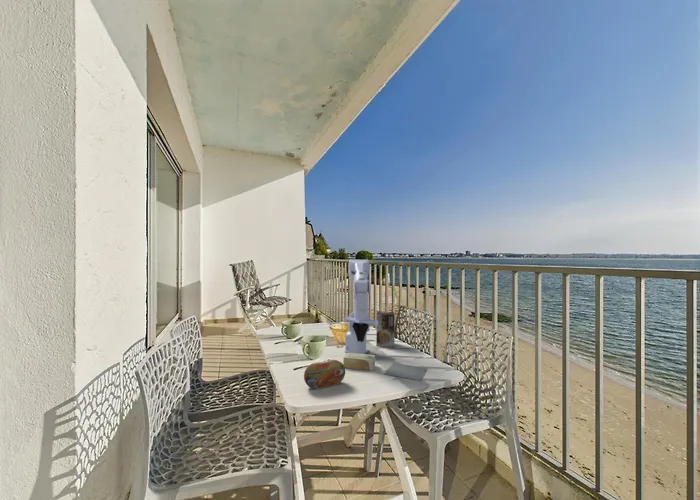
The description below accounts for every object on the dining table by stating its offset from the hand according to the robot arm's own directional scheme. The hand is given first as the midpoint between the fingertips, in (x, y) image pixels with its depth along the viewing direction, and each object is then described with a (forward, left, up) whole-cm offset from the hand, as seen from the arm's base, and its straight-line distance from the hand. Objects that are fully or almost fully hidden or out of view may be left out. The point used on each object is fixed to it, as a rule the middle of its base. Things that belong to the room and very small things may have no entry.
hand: (360, 341), depth 133 cm
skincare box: (+7, -2, -7) cm, 10 cm away
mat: (+20, 0, -9) cm, 22 cm away
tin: (-3, -25, -10) cm, 27 cm away
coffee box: (+2, +30, -10) cm, 32 cm away
